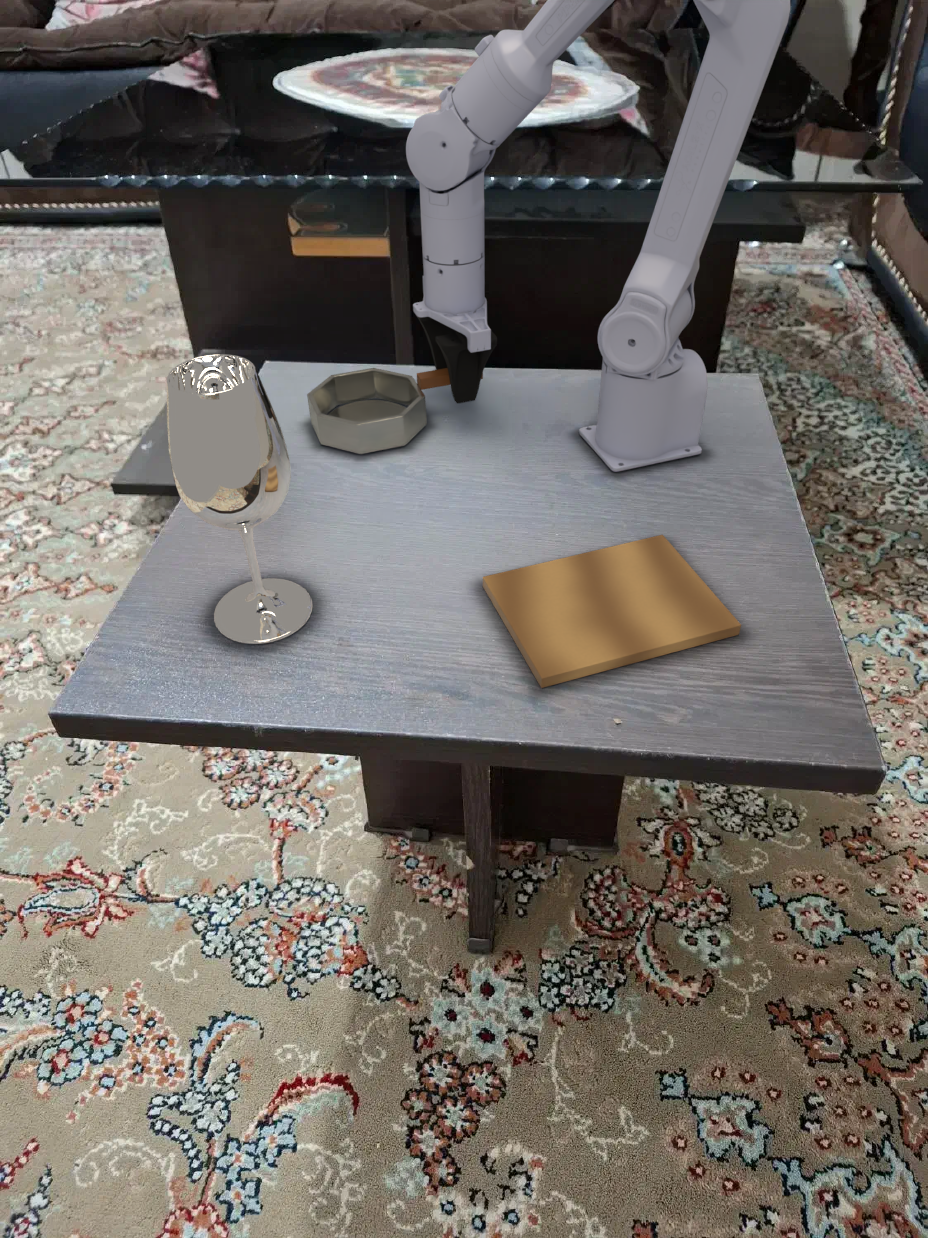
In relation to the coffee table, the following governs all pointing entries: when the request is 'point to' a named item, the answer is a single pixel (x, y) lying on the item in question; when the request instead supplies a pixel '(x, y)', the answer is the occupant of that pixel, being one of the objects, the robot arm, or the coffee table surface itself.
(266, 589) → the wineglass
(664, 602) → the cutting board
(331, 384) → the saucepan
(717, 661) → the coffee table surface
